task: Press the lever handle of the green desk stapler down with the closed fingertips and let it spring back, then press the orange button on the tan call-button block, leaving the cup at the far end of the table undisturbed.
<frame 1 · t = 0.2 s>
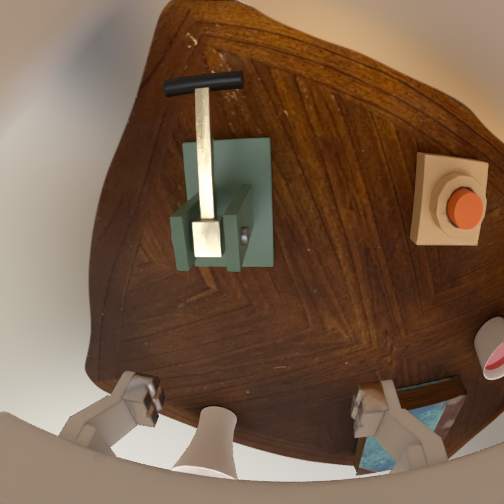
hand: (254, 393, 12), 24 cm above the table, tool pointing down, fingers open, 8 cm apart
cup: (218, 415, 49), on the table
stapler: (230, 203, 33), on the table
white round tub: (489, 332, 37), on the table
call button: (446, 198, 30), on the table
button: (465, 209, 26), point 4 cm above the table, slide at 0.1 cm
book: (402, 422, 46), on the table
lever handle: (206, 163, 22), point 9 cm above the table, hinge at -6.4°
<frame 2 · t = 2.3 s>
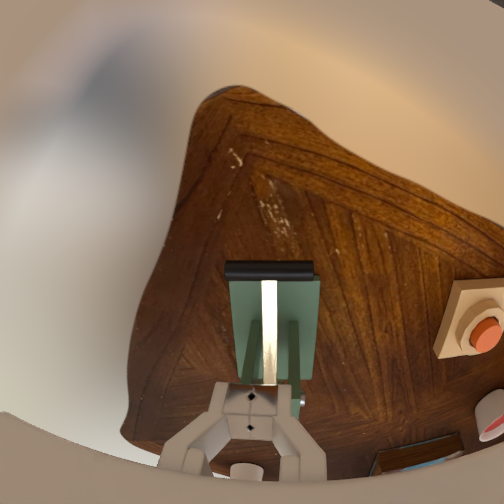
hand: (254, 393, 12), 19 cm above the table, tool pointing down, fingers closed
cup: (247, 468, 50), on the table
stapler: (275, 329, 34), on the table
white round tub: (489, 400, 38), on the table
call button: (470, 313, 31), on the table
button: (486, 335, 27), point 4 cm above the table, slide at 0.1 cm
book: (406, 466, 47), on the table
lever handle: (270, 347, 23), point 9 cm above the table, hinge at -6.7°
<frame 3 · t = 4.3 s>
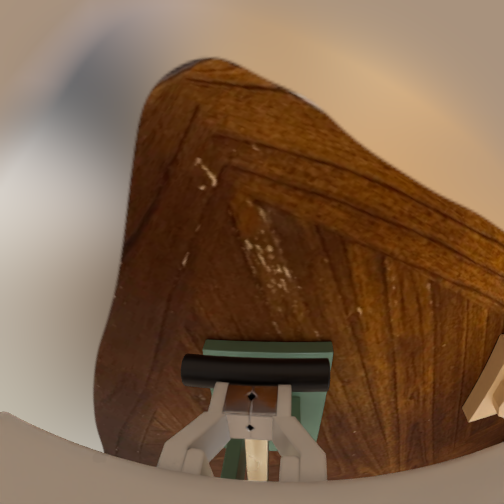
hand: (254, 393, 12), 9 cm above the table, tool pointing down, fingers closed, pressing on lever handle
stapler: (269, 401, 24), on the table
lever handle: (257, 462, 14), point 9 cm above the table, hinge at -10.3°, touching gripper
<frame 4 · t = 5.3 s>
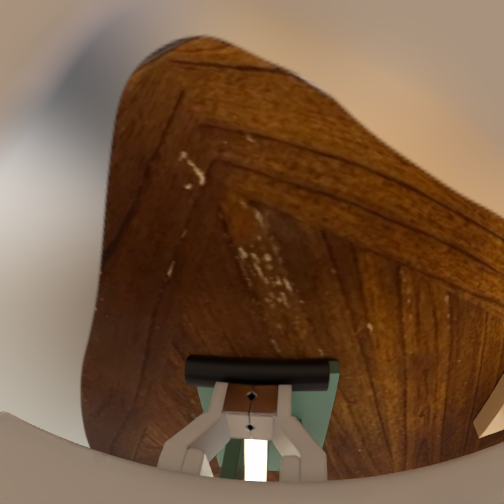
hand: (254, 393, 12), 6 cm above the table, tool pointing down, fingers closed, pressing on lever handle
stapler: (267, 422, 21), on the table
lever handle: (256, 481, 12), point 8 cm above the table, hinge at -24.9°, touching gripper
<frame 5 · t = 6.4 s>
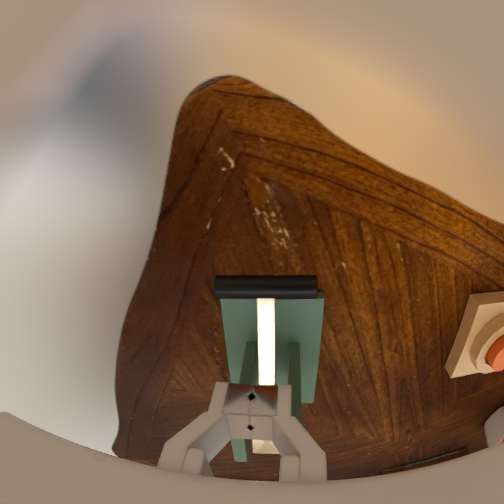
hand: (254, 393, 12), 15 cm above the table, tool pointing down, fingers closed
stapler: (273, 351, 30), on the table
white round tub: (499, 414, 34), on the table
call button: (485, 328, 27), on the table
button: (503, 352, 23), point 4 cm above the table, slide at 0.1 cm
book: (412, 482, 43), on the table
lever handle: (267, 375, 20), point 9 cm above the table, hinge at -11.1°
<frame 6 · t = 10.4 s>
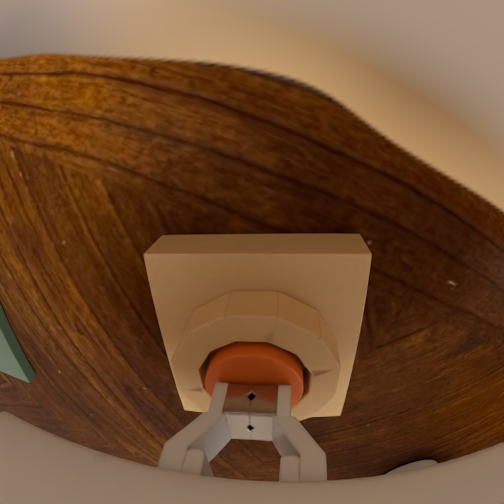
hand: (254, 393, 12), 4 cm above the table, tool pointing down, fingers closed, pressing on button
white round tub: (406, 472, 23), on the table
call button: (261, 325, 16), on the table
button: (255, 375, 12), point 4 cm above the table, slide at -0.8 cm, touching gripper
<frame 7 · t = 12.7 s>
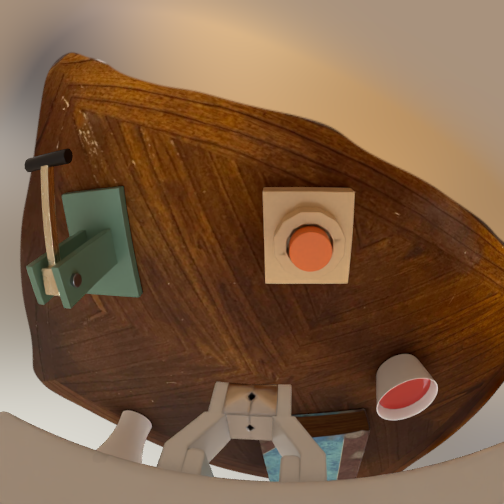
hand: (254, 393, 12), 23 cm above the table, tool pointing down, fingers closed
cup: (137, 419, 51), on the table
stapler: (102, 242, 36), on the table
white round tub: (397, 368, 40), on the table
call button: (307, 232, 33), on the table
button: (310, 248, 29), point 4 cm above the table, slide at 0.1 cm
book: (313, 445, 49), on the table
lever handle: (49, 223, 26), point 9 cm above the table, hinge at -11.1°
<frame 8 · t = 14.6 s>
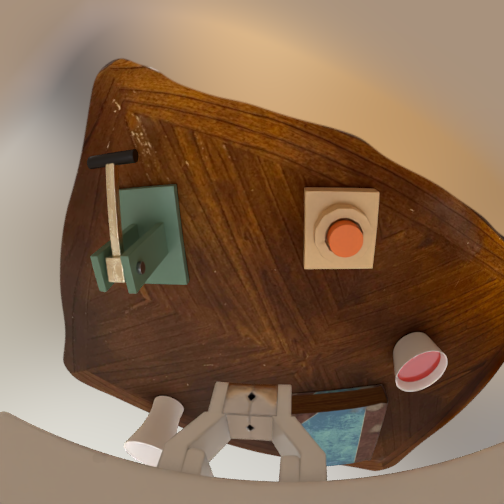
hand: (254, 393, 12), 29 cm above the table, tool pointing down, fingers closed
cup: (169, 404, 57), on the table
stapler: (152, 235, 41), on the table
white round tub: (410, 346, 45), on the table
call button: (338, 225, 38), on the table
button: (345, 238, 34), point 4 cm above the table, slide at 0.1 cm
book: (334, 422, 55), on the table
lever handle: (114, 217, 31), point 9 cm above the table, hinge at -11.1°
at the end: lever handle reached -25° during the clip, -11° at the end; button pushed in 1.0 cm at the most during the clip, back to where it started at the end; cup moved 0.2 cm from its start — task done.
